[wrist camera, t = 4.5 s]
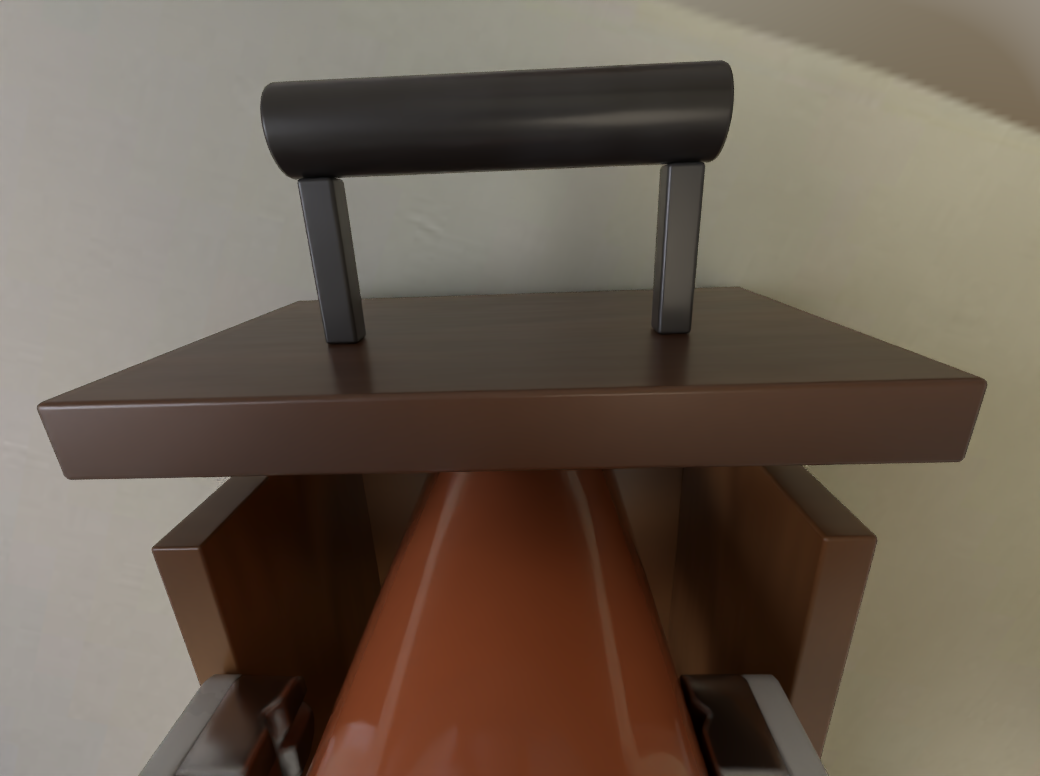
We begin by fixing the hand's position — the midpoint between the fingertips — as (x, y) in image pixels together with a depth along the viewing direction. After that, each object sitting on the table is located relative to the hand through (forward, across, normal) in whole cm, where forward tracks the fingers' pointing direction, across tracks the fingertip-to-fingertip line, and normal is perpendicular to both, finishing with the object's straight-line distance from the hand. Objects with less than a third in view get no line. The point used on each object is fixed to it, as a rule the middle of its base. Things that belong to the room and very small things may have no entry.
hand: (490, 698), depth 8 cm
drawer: (+8, 0, -1) cm, 8 cm away
